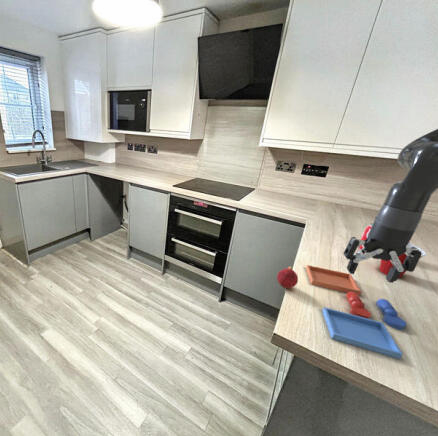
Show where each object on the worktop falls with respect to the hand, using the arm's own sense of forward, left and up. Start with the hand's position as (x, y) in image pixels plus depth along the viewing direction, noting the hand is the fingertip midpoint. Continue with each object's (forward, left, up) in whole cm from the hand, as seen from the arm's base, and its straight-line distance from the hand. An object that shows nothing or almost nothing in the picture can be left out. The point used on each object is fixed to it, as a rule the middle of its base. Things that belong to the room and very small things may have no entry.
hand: (369, 276), depth 65 cm
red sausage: (0, 0, -11) cm, 11 cm away
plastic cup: (-19, -28, -12) cm, 35 cm away
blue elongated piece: (-8, 0, -11) cm, 14 cm away
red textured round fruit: (+18, -2, -12) cm, 22 cm away
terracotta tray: (+3, -12, -11) cm, 17 cm away
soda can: (-18, -46, -12) cm, 50 cm away
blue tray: (+3, +11, -11) cm, 16 cm away
